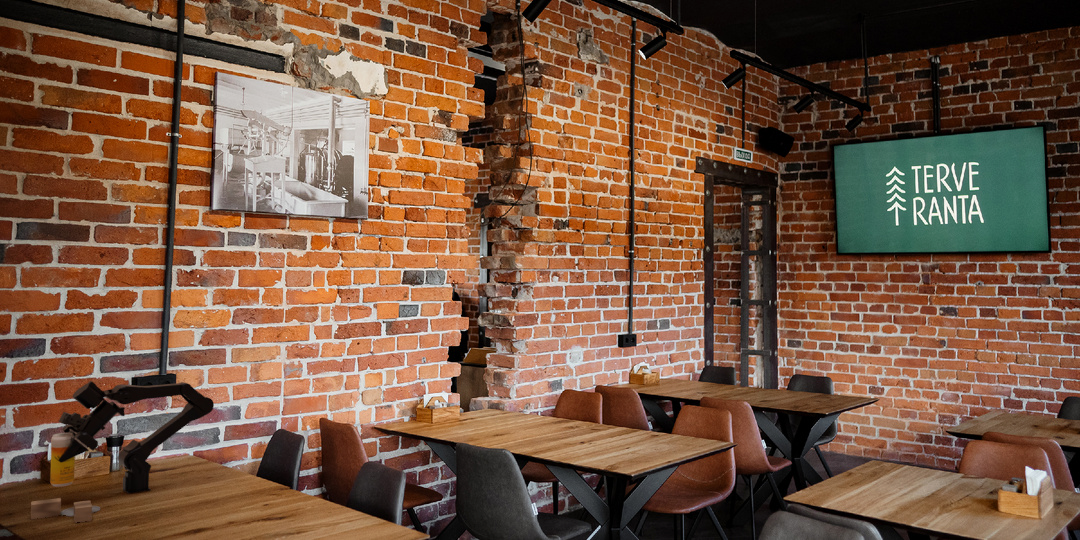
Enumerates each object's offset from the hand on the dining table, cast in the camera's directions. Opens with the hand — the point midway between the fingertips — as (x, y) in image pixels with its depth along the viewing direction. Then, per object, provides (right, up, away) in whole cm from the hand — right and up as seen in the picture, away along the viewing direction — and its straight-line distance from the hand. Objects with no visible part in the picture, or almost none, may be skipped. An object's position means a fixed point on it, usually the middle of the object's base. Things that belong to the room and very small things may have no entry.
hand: (56, 459), depth 229 cm
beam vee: (+11, -13, -9) cm, 19 cm away
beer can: (+1, -8, +1) cm, 8 cm away
